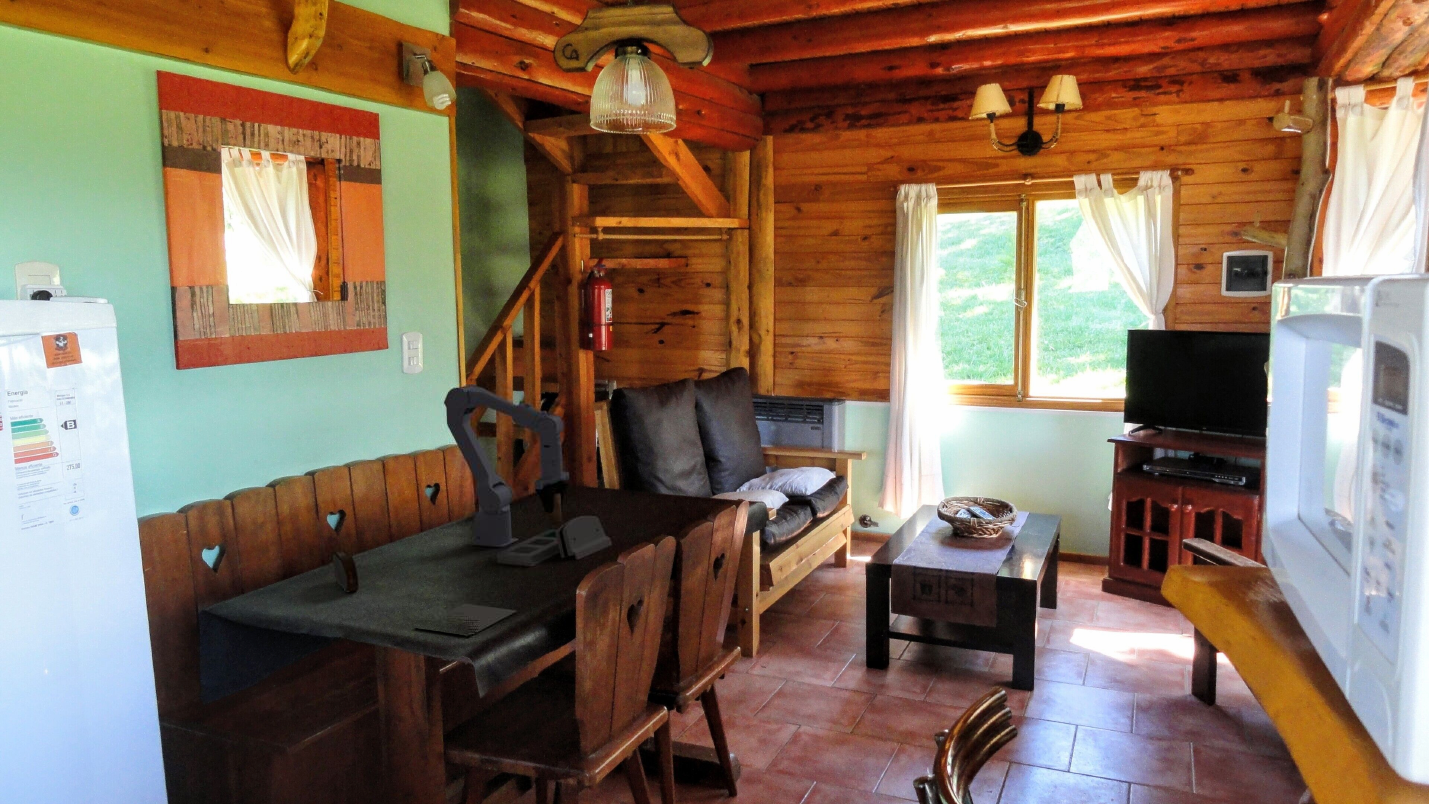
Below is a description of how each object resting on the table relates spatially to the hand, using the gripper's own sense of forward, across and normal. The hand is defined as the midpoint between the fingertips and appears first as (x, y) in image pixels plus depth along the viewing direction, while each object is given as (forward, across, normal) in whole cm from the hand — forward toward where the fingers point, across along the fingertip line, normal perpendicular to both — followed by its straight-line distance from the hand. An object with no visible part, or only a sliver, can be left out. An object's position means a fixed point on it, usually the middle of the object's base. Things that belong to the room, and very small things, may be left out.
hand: (553, 510), depth 263 cm
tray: (+10, -7, 0) cm, 12 cm away
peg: (+3, 0, 0) cm, 3 cm away
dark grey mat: (+10, -55, -10) cm, 56 cm away
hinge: (+10, -2, -10) cm, 14 cm away
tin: (+10, -48, +28) cm, 56 cm away
